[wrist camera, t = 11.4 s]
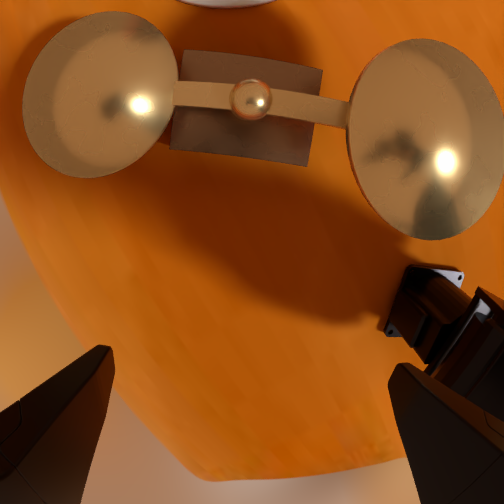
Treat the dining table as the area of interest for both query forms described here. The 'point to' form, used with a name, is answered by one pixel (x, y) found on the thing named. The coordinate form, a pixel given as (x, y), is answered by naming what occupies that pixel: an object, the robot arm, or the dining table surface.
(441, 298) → the robot arm
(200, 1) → the dish
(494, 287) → the dining table surface
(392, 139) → the balance
